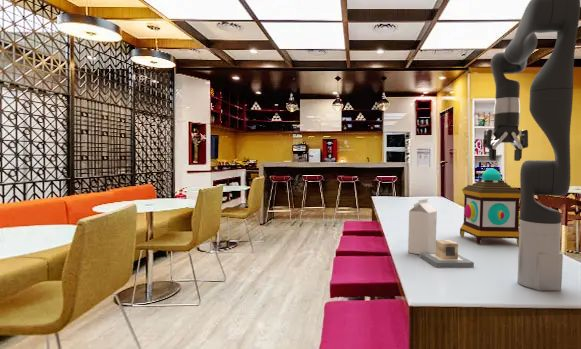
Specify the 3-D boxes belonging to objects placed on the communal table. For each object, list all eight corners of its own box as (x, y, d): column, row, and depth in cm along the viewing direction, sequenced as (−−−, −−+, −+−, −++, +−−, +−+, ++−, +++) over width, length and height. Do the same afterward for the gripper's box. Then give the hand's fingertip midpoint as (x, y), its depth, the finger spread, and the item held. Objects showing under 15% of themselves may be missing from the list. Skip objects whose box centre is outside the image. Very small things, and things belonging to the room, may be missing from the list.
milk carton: (435, 252, 136) (437, 199, 135) (427, 256, 130) (428, 201, 130) (416, 249, 140) (417, 198, 140) (407, 252, 135) (409, 199, 134)
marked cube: (450, 255, 126) (450, 240, 126) (457, 259, 121) (458, 243, 121) (435, 255, 126) (435, 240, 126) (442, 259, 121) (443, 243, 121)
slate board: (473, 267, 118) (474, 262, 118) (436, 267, 117) (436, 262, 117) (454, 257, 130) (454, 252, 130) (420, 257, 129) (420, 252, 129)
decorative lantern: (475, 245, 148) (478, 168, 147) (455, 235, 168) (457, 167, 167) (527, 246, 148) (530, 169, 146) (501, 236, 167) (503, 167, 166)
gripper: (519, 114, 132) (517, 160, 133) (480, 113, 131) (478, 160, 132) (534, 111, 125) (532, 161, 125) (492, 110, 124) (491, 160, 124)
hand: (505, 160), depth 129 cm, fingers open, 8 cm apart
